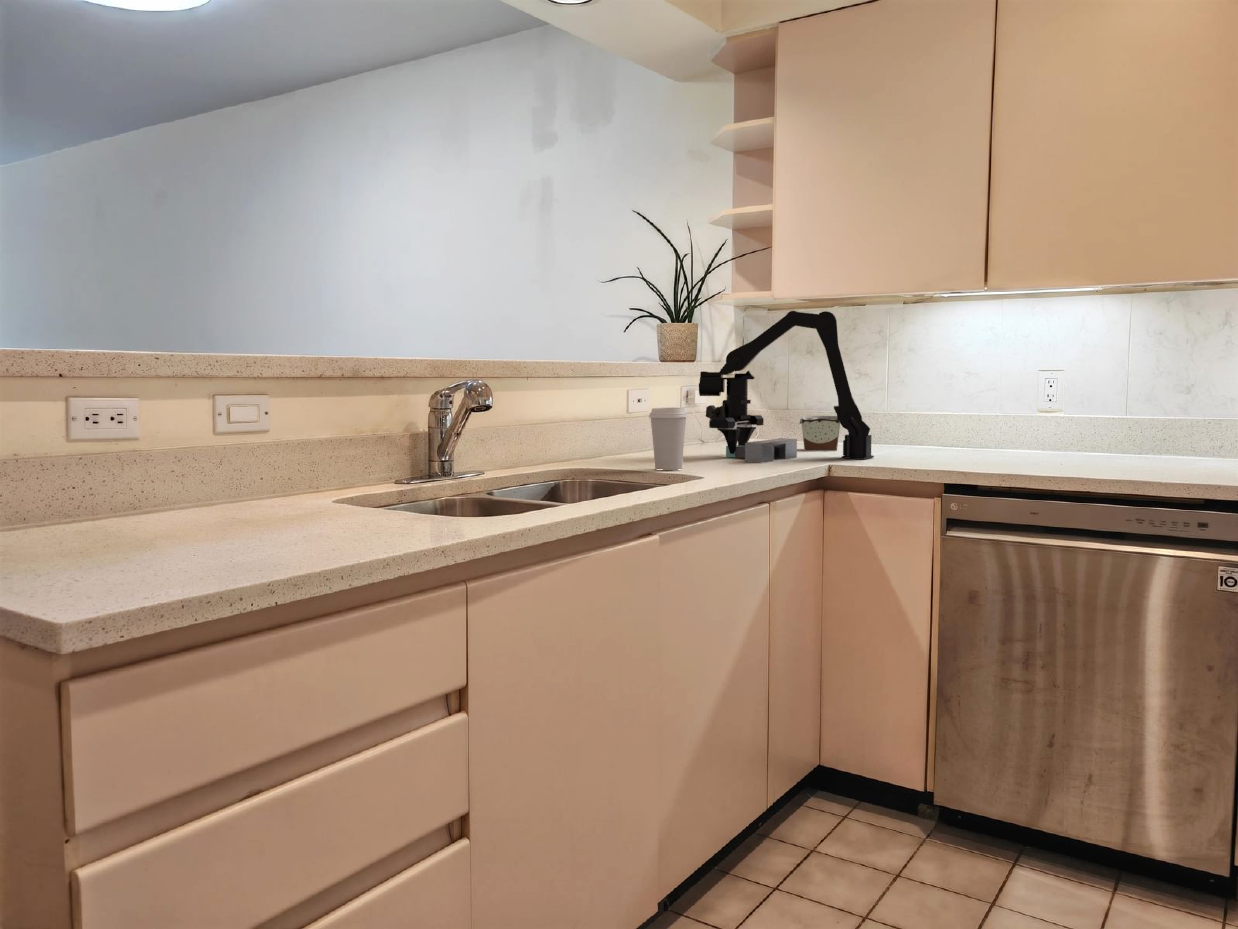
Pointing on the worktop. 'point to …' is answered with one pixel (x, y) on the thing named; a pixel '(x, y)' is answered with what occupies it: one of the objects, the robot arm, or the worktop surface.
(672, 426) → the coffee cup
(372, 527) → the worktop surface
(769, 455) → the long gray rectangular block
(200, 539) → the worktop surface
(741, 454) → the bar
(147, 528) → the worktop surface
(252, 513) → the worktop surface
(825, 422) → the food container
